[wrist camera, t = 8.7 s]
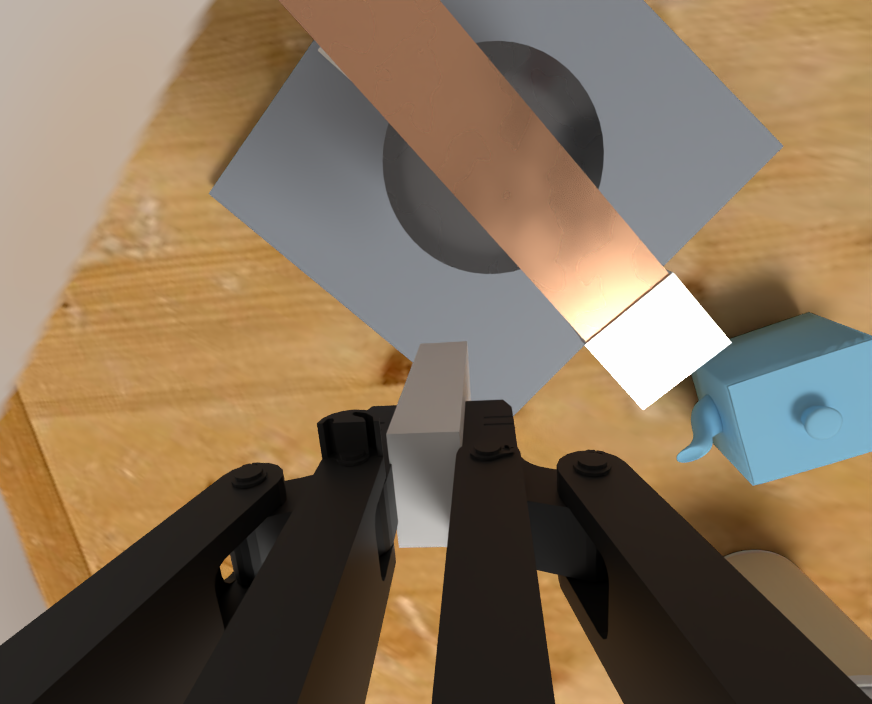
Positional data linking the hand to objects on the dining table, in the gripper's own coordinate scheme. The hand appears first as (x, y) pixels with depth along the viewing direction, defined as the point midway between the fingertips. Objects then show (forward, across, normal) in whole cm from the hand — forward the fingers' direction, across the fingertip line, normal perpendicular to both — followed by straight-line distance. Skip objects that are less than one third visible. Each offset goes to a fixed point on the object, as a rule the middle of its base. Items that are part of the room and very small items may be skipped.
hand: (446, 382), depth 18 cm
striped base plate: (+16, +2, +7) cm, 18 cm away
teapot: (+17, +16, -7) cm, 25 cm away
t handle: (+8, +2, +7) cm, 10 cm away
